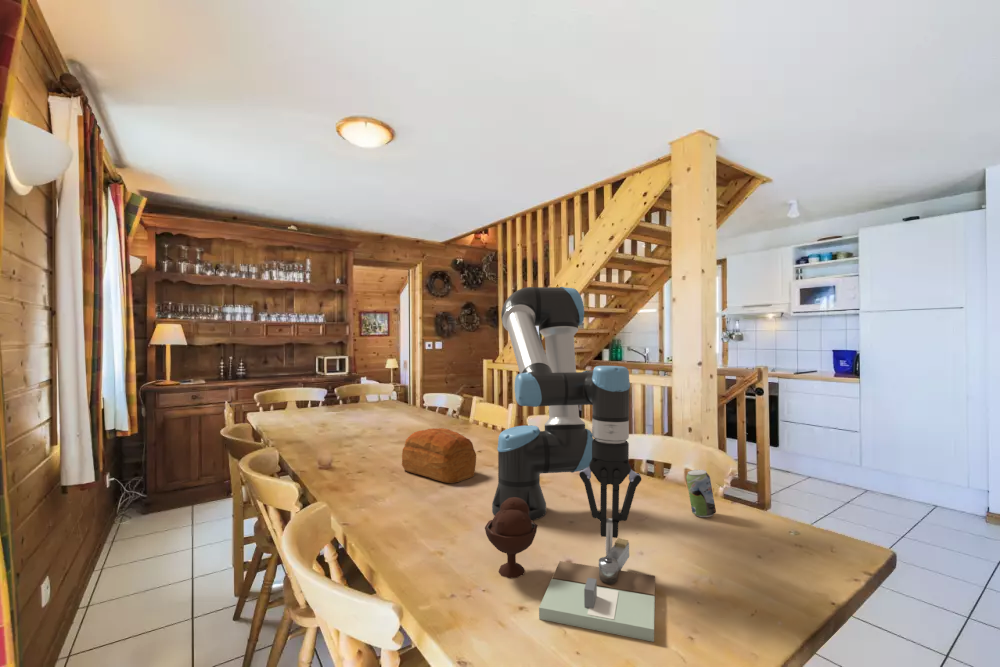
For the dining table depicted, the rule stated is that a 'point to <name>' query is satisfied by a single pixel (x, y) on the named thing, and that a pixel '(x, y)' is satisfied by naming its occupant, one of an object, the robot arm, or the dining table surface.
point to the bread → (439, 455)
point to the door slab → (599, 608)
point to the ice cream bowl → (511, 534)
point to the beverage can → (700, 493)
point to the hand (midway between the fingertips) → (608, 551)
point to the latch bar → (614, 561)
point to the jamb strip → (624, 583)
